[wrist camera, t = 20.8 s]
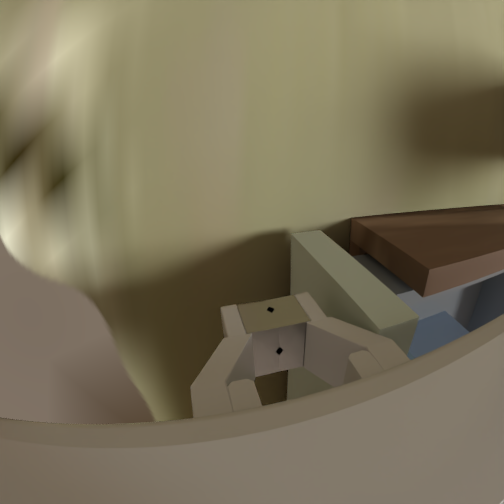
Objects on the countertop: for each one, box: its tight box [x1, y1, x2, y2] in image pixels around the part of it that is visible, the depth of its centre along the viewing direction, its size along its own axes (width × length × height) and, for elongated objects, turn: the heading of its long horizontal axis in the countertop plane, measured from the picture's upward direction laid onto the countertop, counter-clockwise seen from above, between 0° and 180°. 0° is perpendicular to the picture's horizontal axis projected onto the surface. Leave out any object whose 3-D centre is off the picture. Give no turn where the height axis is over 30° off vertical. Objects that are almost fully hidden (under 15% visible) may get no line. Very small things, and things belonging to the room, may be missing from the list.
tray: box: [287, 230, 504, 400], centre depth 15 cm, size 18×17×7 cm
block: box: [407, 311, 470, 360], centre depth 16 cm, size 5×5×5 cm
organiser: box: [349, 204, 504, 298], centre depth 18 cm, size 18×16×6 cm
